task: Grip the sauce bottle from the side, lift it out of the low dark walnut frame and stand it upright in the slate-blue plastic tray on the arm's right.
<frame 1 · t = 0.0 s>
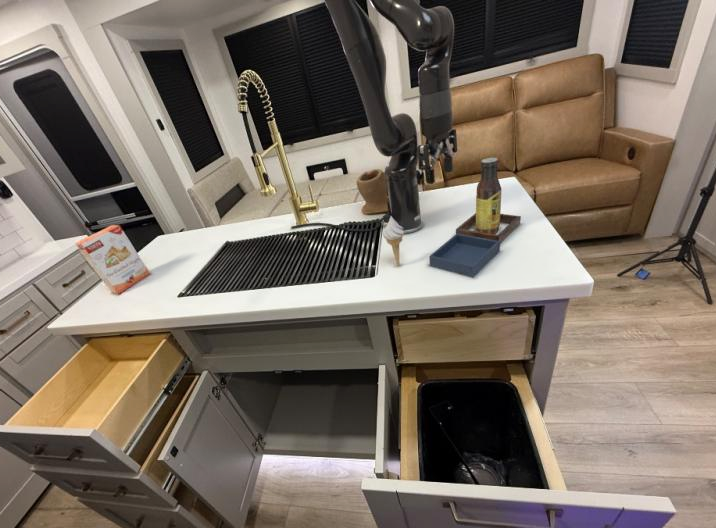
hand: (439, 177, 93), 17 cm above the worktop, tool pointing down, fingers open, 8 cm apart
cracker box: (132, 283, 129), on the worktop
ice cream cone: (398, 266, 94), on the worktop
sauce bottle: (487, 231, 98), resting in walnut frame
slate tray: (464, 259, 89), on the worktop
stone cup: (381, 211, 128), on the worktop
walnut frame: (487, 230, 98), on the worktop
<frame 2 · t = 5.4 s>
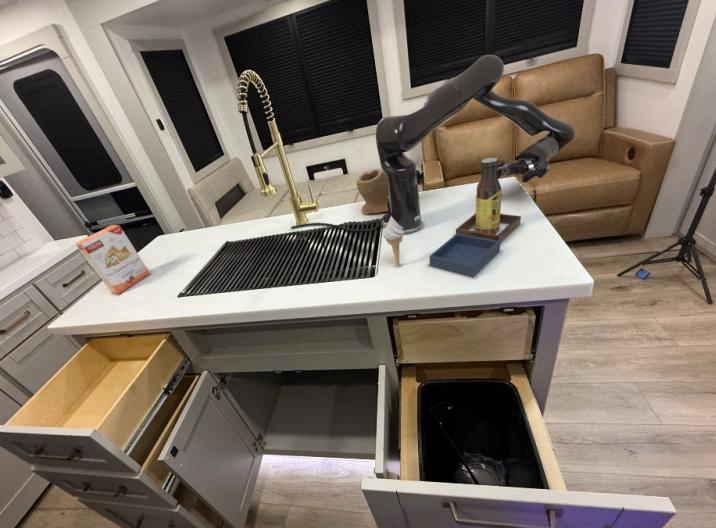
hand: (508, 178, 96), 11 cm above the worktop, tool horizontal, fingers open, 8 cm apart
nothing on the worktop moved.
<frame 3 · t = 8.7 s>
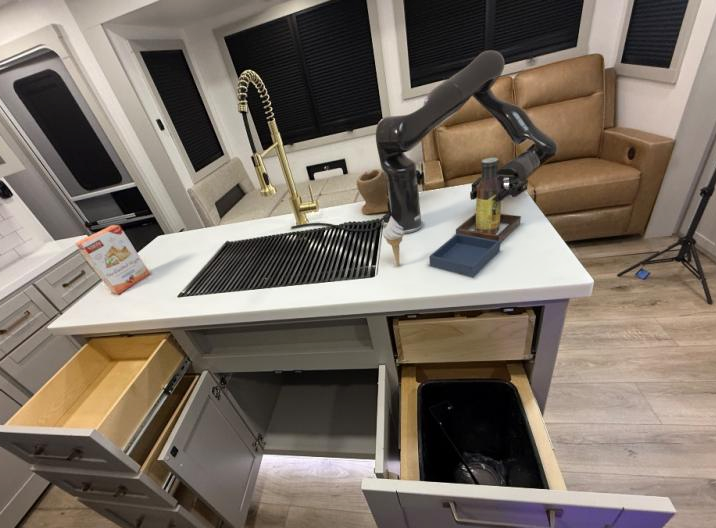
hand: (484, 197, 90), 11 cm above the worktop, tool horizontal, fingers closed on sauce bottle, 6 cm apart
sauce bottle: (487, 231, 98), resting in walnut frame, touching gripper
everything else where it was.
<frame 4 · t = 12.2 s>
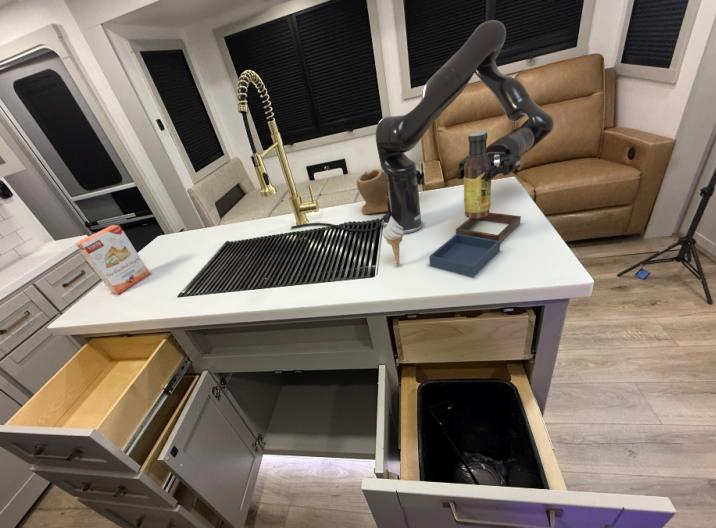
hand: (471, 176, 81), 20 cm above the worktop, tool horizontal, fingers closed on sauce bottle, 6 cm apart
sauce bottle: (477, 215, 89), point 9 cm above the worktop, touching gripper
everything else where it was.
when the fingers open (12 cm above the worktop, at t = 16.2 s): sauce bottle stays where it is, resting on slate tray.
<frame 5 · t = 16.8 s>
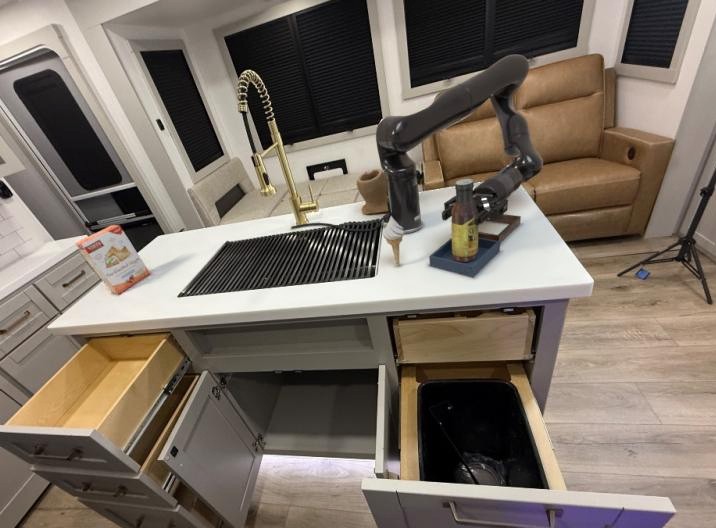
hand: (459, 219, 81), 12 cm above the worktop, tool horizontal, fingers open, 8 cm apart
sauce bottle: (465, 257, 89), resting on slate tray
everything else where it was.
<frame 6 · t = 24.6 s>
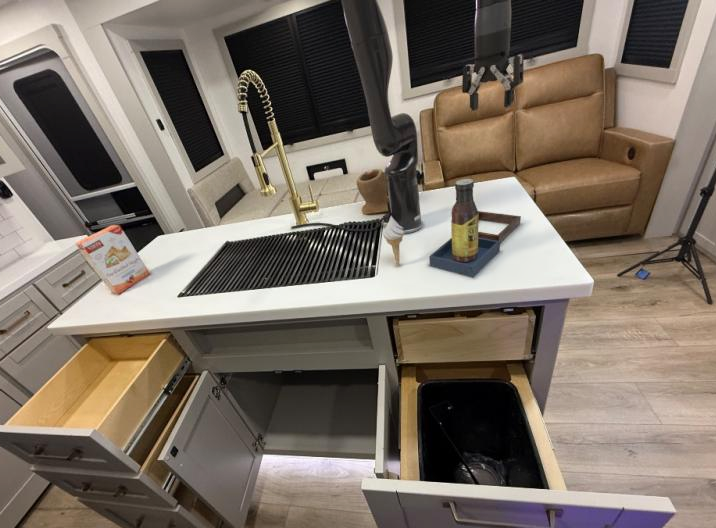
hand: (490, 108, 87), 30 cm above the worktop, tool pointing down, fingers open, 8 cm apart
nothing on the worktop moved.
at the end: sauce bottle 0.2 cm off-centre in the slate tray, point 0.4 cm above the slate tray's base; sauce bottle tilted 0°; the gripper is holding nothing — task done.
